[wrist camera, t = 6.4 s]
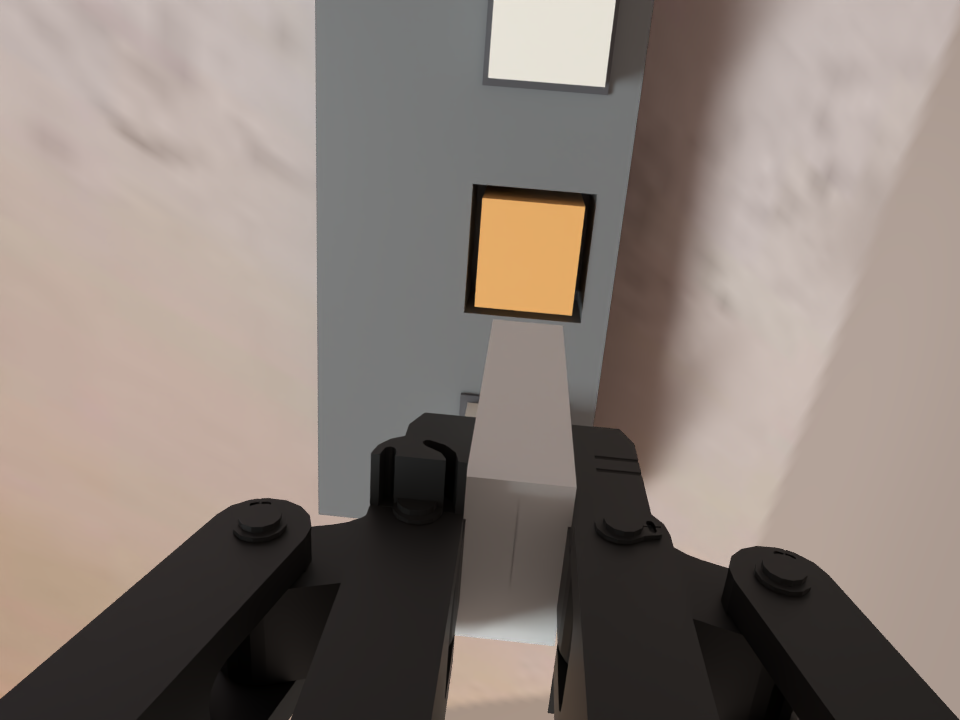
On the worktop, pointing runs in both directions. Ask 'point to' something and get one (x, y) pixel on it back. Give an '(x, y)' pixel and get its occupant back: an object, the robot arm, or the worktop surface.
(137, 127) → the worktop surface
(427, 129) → the grey button panel
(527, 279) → the button orange
